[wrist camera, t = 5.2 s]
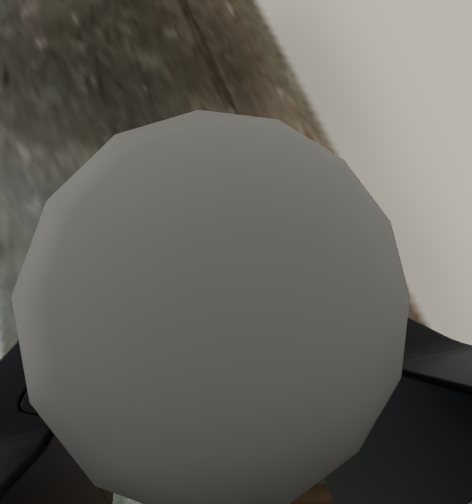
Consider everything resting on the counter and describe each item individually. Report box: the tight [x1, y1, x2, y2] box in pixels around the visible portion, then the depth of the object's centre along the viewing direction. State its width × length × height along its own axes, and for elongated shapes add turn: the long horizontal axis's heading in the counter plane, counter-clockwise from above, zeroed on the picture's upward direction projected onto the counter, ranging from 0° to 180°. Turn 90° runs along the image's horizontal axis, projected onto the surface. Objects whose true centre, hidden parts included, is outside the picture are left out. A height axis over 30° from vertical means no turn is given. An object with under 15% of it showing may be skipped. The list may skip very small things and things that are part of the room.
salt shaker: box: [11, 110, 410, 504], centre depth 9 cm, size 6×6×13 cm
